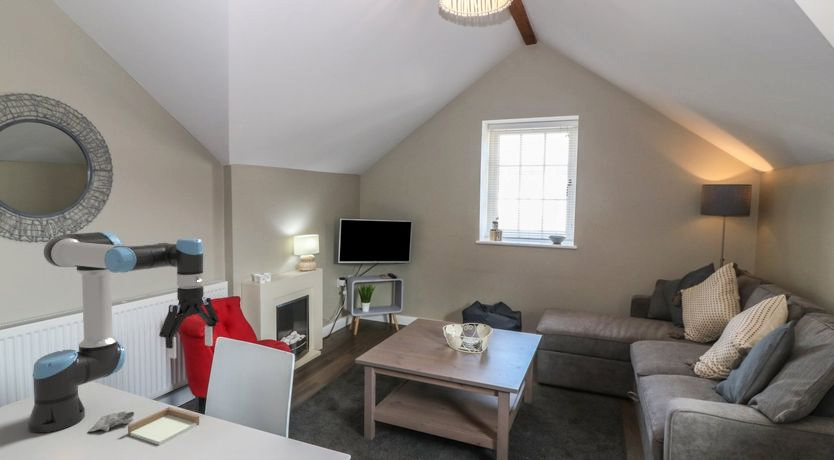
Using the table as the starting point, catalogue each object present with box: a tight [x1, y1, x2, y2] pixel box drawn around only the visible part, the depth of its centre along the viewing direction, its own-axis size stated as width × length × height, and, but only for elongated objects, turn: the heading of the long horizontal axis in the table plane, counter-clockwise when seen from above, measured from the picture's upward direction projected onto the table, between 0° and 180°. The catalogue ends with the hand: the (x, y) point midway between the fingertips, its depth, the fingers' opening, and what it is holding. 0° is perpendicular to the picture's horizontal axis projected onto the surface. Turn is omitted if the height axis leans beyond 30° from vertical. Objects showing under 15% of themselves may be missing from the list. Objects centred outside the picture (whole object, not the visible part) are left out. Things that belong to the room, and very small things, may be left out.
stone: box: [87, 411, 135, 433], centre depth 148 cm, size 6×12×4 cm, turn 100°
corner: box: [127, 407, 200, 446], centre depth 148 cm, size 15×15×3 cm
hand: (191, 351), depth 142 cm, fingers open, 13 cm apart
